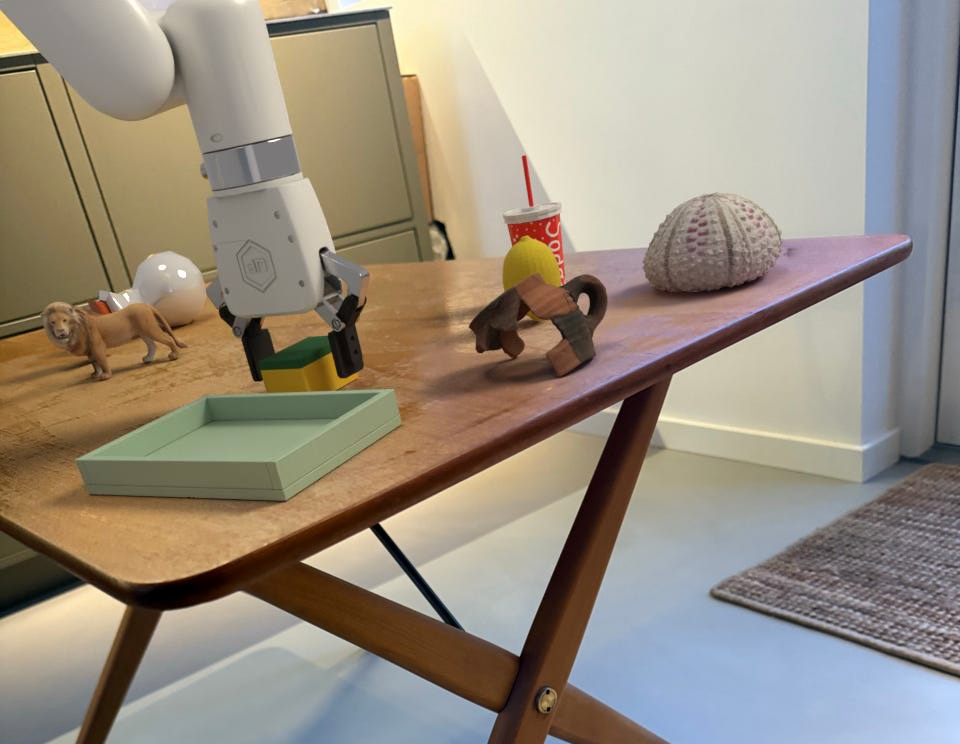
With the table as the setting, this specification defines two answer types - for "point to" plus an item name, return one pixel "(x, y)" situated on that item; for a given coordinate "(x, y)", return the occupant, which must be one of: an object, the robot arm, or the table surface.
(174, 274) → the potion bottle
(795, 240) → the table surface
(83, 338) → the lion figurine
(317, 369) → the sponge
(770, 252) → the sea urchin shell
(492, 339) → the brown piece
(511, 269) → the lemon
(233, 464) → the tray
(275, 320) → the table surface
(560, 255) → the beverage cup
